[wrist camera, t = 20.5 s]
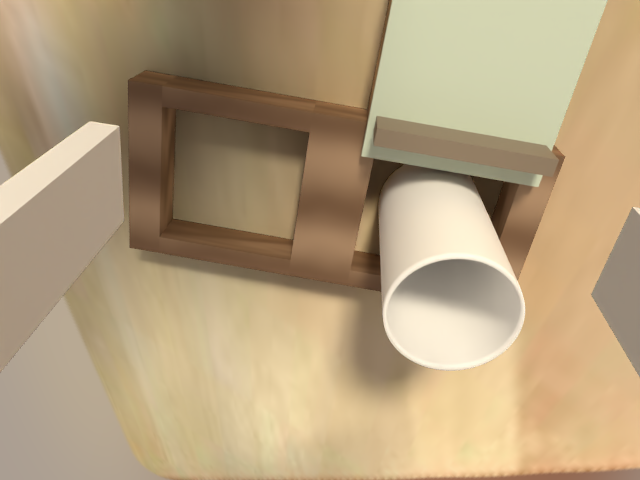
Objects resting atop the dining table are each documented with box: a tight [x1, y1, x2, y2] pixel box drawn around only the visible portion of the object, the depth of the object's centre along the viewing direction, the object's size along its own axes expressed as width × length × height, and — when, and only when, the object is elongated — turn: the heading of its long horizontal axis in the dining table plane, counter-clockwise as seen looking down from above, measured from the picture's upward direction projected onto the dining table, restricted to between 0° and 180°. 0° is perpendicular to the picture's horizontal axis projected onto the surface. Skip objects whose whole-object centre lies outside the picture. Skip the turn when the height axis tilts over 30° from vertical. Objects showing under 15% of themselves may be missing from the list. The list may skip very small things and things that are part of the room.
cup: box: [378, 164, 525, 371], centre depth 40 cm, size 8×8×16 cm
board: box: [128, 0, 565, 291], centre depth 42 cm, size 27×32×4 cm
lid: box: [361, 0, 607, 187], centre depth 36 cm, size 13×13×4 cm
